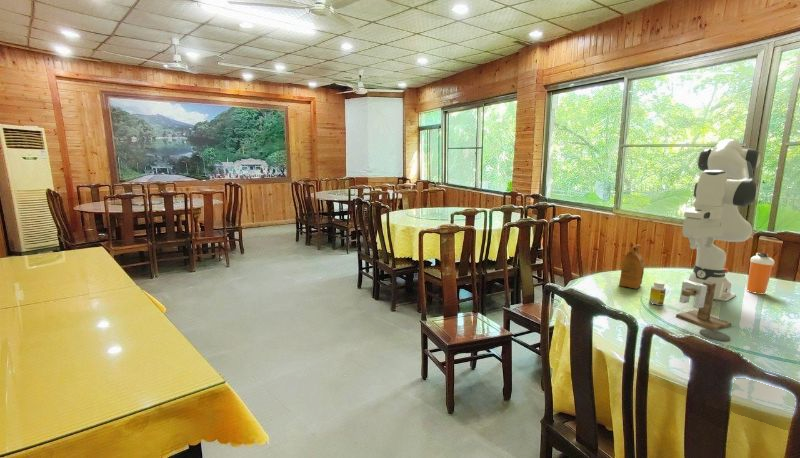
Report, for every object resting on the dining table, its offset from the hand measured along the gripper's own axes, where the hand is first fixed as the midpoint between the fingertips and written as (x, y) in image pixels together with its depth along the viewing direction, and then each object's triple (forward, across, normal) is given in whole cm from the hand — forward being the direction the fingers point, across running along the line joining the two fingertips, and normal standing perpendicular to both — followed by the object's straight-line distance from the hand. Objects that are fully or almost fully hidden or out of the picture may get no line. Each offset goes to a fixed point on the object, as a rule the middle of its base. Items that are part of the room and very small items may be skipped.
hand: (700, 248), depth 150 cm
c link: (+23, 0, 0) cm, 23 cm away
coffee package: (+32, -24, -42) cm, 58 cm away
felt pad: (+32, +1, +10) cm, 33 cm away
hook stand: (+32, -5, 0) cm, 32 cm away
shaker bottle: (+31, -79, -13) cm, 86 cm away
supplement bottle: (+32, -11, -20) cm, 39 cm away
